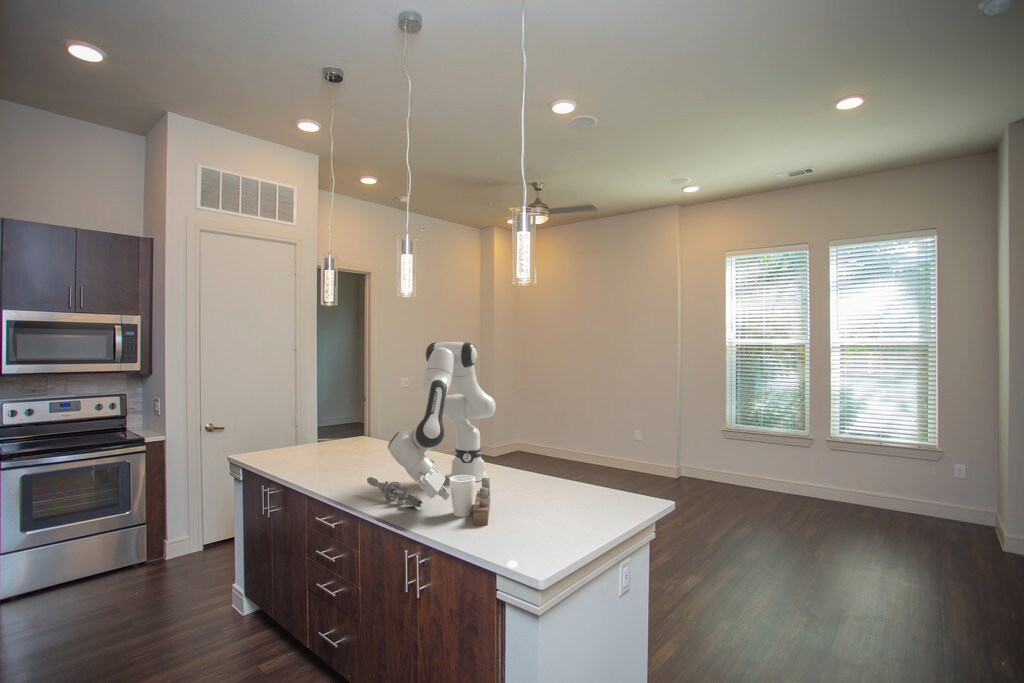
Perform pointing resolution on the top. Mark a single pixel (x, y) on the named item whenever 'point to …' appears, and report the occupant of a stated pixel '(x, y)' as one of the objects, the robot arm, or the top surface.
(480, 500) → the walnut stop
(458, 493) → the foam cup
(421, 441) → the robot arm
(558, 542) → the top surface
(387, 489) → the spaceship
